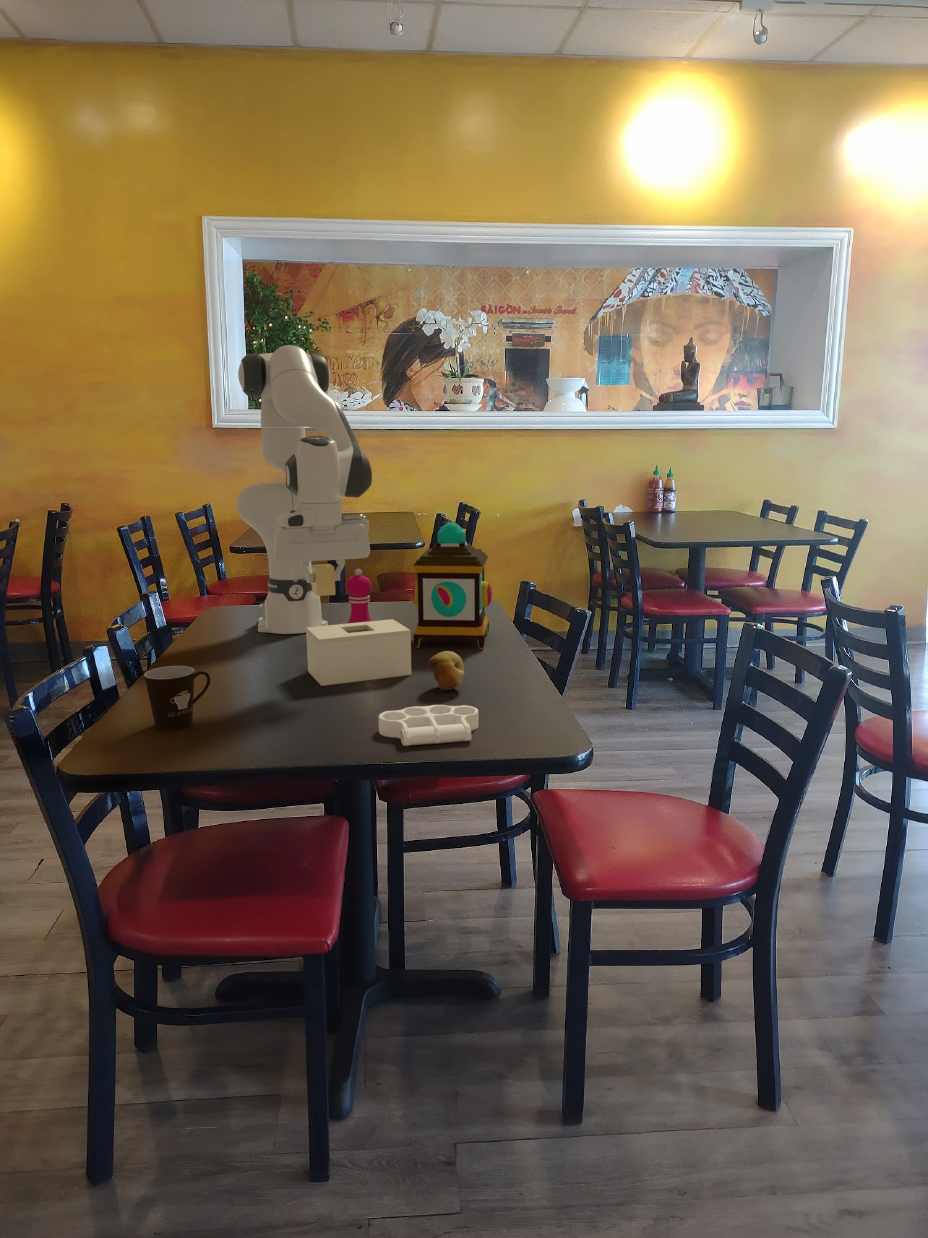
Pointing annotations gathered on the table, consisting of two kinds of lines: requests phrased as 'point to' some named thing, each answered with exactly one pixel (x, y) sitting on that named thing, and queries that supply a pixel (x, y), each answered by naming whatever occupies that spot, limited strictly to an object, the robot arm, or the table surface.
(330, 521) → the robot arm
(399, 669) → the coin box
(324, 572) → the yellow wooden block
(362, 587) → the pepper mill
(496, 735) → the table surface
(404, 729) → the knuckle duster
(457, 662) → the fruit
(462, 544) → the decorative lantern
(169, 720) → the coffee mug
